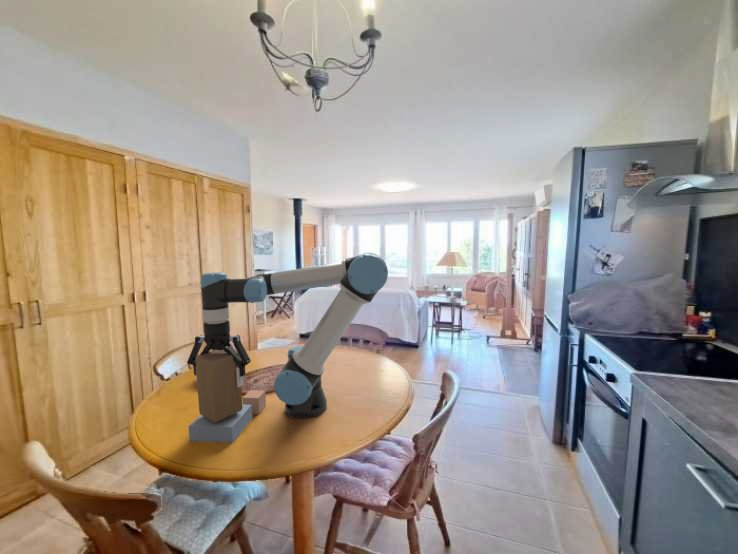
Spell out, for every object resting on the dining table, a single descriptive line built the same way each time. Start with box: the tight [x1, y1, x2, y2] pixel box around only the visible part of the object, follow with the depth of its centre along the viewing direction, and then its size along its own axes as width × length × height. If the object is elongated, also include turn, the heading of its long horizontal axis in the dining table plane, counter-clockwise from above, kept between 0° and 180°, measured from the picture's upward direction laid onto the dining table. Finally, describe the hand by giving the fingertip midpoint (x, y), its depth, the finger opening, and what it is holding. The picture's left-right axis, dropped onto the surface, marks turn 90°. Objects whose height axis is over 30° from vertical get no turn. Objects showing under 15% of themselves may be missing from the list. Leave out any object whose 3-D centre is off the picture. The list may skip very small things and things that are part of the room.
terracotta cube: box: [242, 389, 267, 415], centre depth 119 cm, size 6×6×6 cm
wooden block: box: [195, 350, 243, 422], centre depth 105 cm, size 10×10×20 cm
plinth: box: [188, 403, 254, 444], centre depth 106 cm, size 14×14×5 cm
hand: (220, 385), depth 105 cm, fingers closed on wooden block, 13 cm apart
